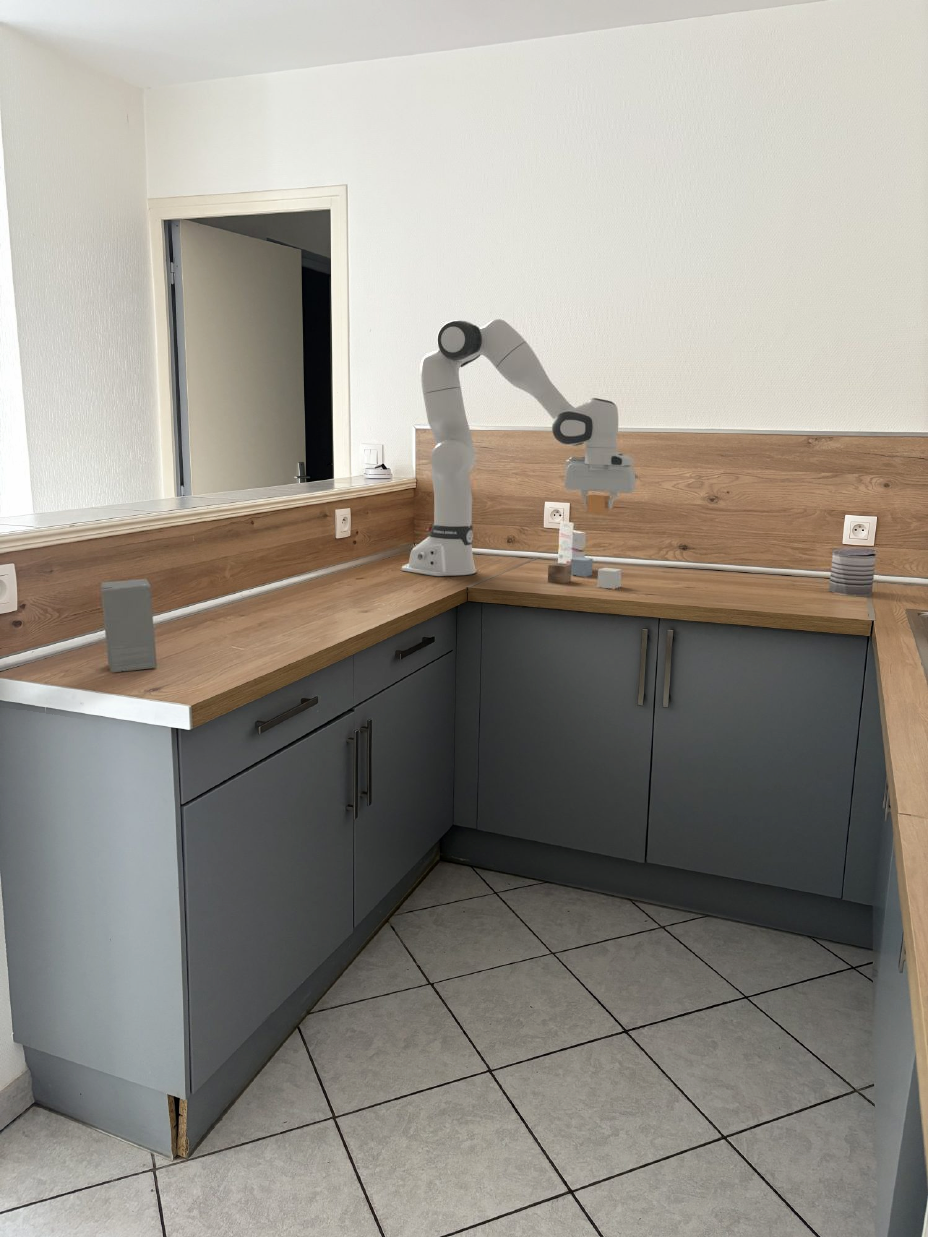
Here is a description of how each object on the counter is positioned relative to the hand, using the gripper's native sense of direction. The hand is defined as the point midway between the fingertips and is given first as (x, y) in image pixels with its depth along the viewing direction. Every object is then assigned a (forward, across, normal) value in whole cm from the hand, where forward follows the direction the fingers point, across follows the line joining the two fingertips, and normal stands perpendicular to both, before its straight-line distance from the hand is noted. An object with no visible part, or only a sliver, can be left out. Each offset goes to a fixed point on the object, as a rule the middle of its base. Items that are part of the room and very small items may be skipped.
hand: (598, 507), depth 265 cm
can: (+21, +66, +24) cm, 73 cm away
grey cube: (+21, +7, -7) cm, 23 cm away
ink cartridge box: (+21, -14, +16) cm, 30 cm away
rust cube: (+2, 0, 0) cm, 2 cm away
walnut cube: (+21, -8, -7) cm, 24 cm away
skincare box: (+21, -37, -136) cm, 143 cm away
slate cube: (+21, -7, +7) cm, 23 cm away
